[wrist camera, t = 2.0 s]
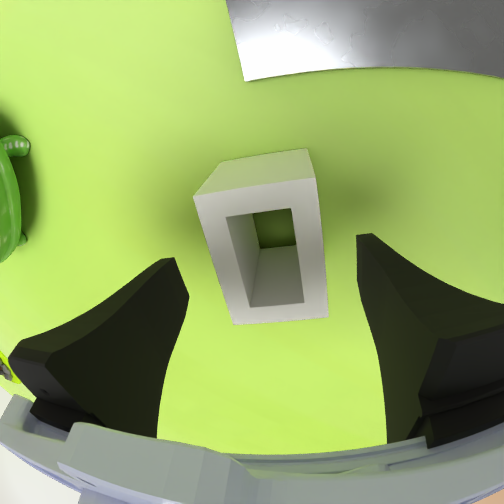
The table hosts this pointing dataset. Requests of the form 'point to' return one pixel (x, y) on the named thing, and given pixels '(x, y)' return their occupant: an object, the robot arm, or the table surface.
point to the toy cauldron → (7, 370)
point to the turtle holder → (10, 195)
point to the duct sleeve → (246, 241)
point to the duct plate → (367, 35)
